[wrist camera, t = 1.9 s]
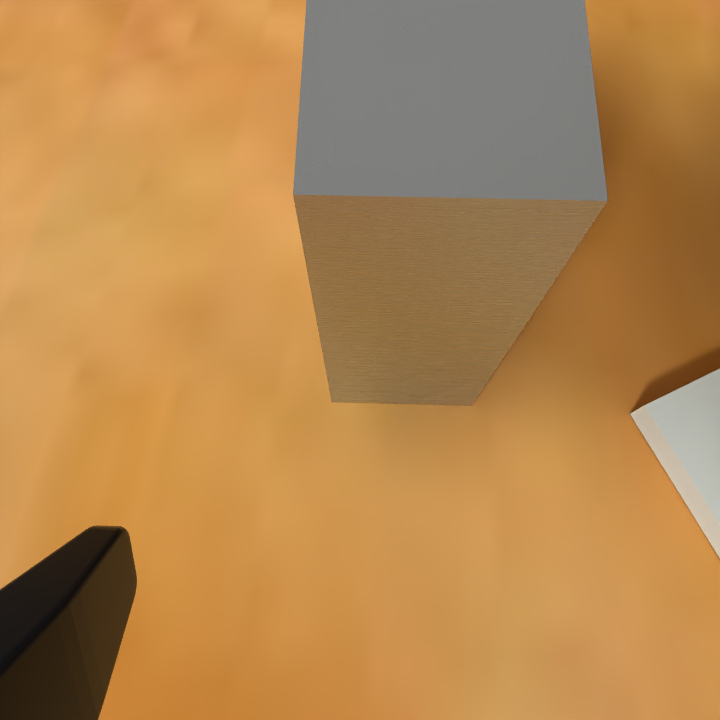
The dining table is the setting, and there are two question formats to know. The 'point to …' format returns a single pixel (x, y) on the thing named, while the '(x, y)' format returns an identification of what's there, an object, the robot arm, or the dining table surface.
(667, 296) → the dining table surface
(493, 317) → the brushed metal pillar
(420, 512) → the dining table surface
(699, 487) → the stand
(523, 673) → the dining table surface
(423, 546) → the dining table surface
